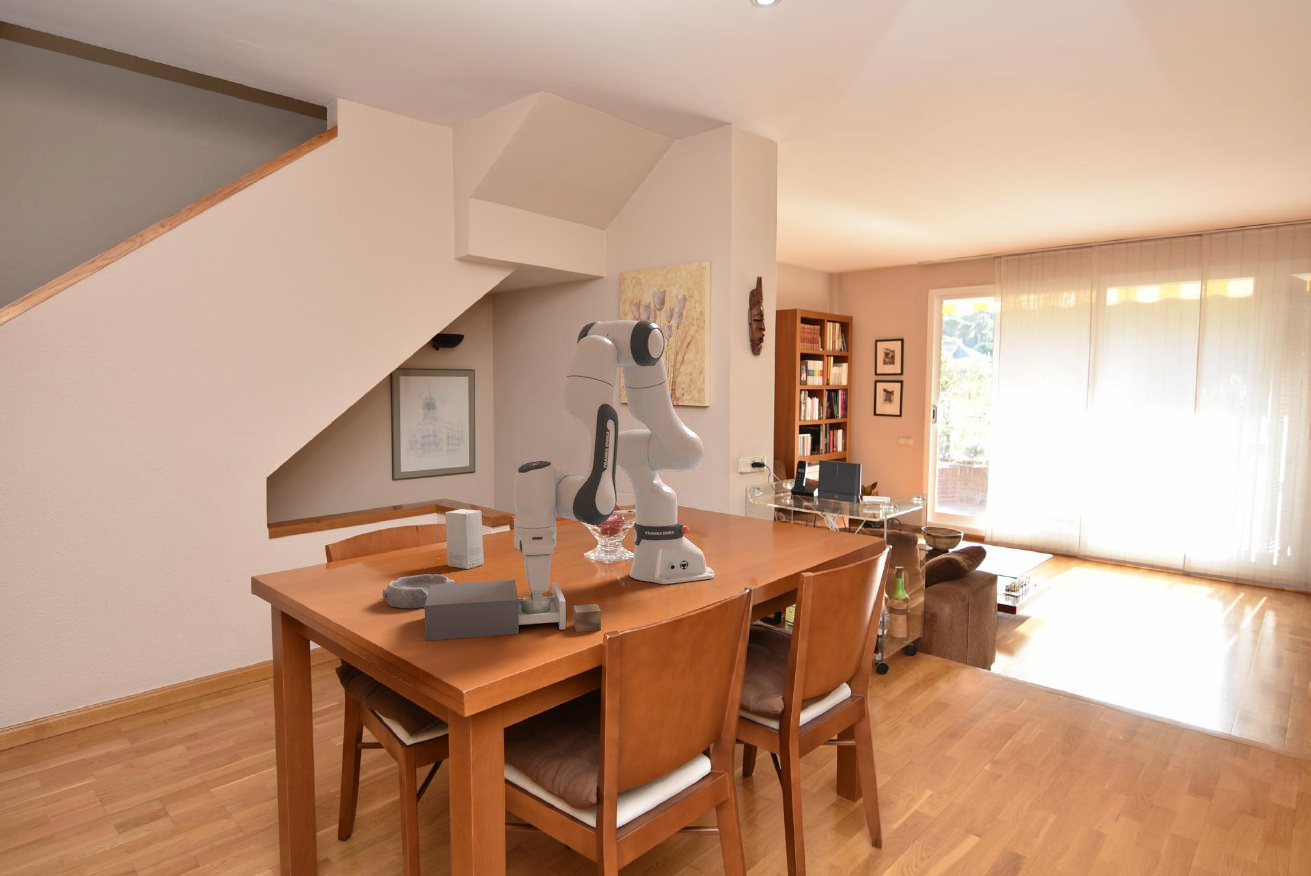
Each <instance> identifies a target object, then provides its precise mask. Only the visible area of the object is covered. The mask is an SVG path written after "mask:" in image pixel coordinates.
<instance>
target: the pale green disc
mask: <svg viewBox="0 0 1311 876" xmlns="http://www.w3.org/2000/svg"><path fill="white" fill-rule="evenodd" d="M524 598H525V599H523V600H522V601H521V604H522V612H523V613H526V614H538V613H546V612H548V611H549V610H550V599H549V598H546V597H545V596H543V597H542V608H541V609H534V608H533V597H531V596H530V597H524Z"/></svg>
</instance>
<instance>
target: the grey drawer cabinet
mask: <svg viewBox="0 0 1311 876" xmlns="http://www.w3.org/2000/svg"><path fill="white" fill-rule="evenodd" d="M518 598H519V596H518V589H517V584H516V580H515V579H506V580H505V579H504V580H502V579H501V580H485V581H469V582H467V581H466V582H454V583H448V584H430V588H429V592H428V595H427V599H426V602H425V607H424V639H425V640H424V641H425V642H426V641H427V642H428V641H441V640H451V639H452V640H453V639H467V638H470V639H471V638H481V637H483V638H484V637H495V636H507V635H519V633H520V631H519V626H520V625H519V616H518Z"/></svg>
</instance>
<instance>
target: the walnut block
mask: <svg viewBox="0 0 1311 876" xmlns="http://www.w3.org/2000/svg"><path fill="white" fill-rule="evenodd" d="M572 608H573V610H572V611H573V612H572V613H573V616H572V617H573V621H572V622H573V623H572V624H573V627H574V629H575V632H576V633H579V632H580V633H582V632H593V631H596V632H597V631H601V630H602V629H601V628H602V627H601V626H602V619H601V618H602V617H601V616H602V611H601V609H600V607H599V605H598V604H597V603H595V604H594V603H593V604H579V605H578V604H577V605H576V604H575V605H573V607H572Z"/></svg>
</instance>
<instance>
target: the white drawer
mask: <svg viewBox="0 0 1311 876" xmlns="http://www.w3.org/2000/svg"><path fill="white" fill-rule="evenodd" d="M544 597H546V598H549V599H550V610H549V611H548V612H546V613H538V614H526V613H523V612H522V604H521V601H522V600H523V599H525V598H526V597H518V616H519V626H520V625H535V624H546V623H547V624H548V623H557V625H558V629H559V630H566V629H567V628H566V623H567V622H566V621H567V620H566V616H567V615H566V614H567V610H566V609H567V607H566V602H567V601H566V599H565V596H564V594H563V591H562V589H561V586H560V584H559V582H558V581H553V582H552V595H549V596H548V595H547V596H544Z"/></svg>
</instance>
